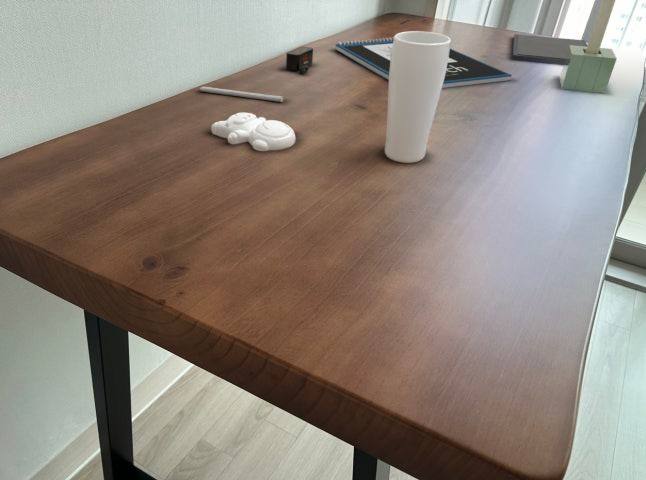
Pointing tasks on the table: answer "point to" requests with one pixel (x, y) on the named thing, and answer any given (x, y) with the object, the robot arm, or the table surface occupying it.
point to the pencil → (242, 94)
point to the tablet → (542, 48)
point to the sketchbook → (457, 72)
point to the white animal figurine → (255, 132)
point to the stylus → (600, 26)
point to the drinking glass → (414, 92)
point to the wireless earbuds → (299, 59)
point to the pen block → (587, 69)
